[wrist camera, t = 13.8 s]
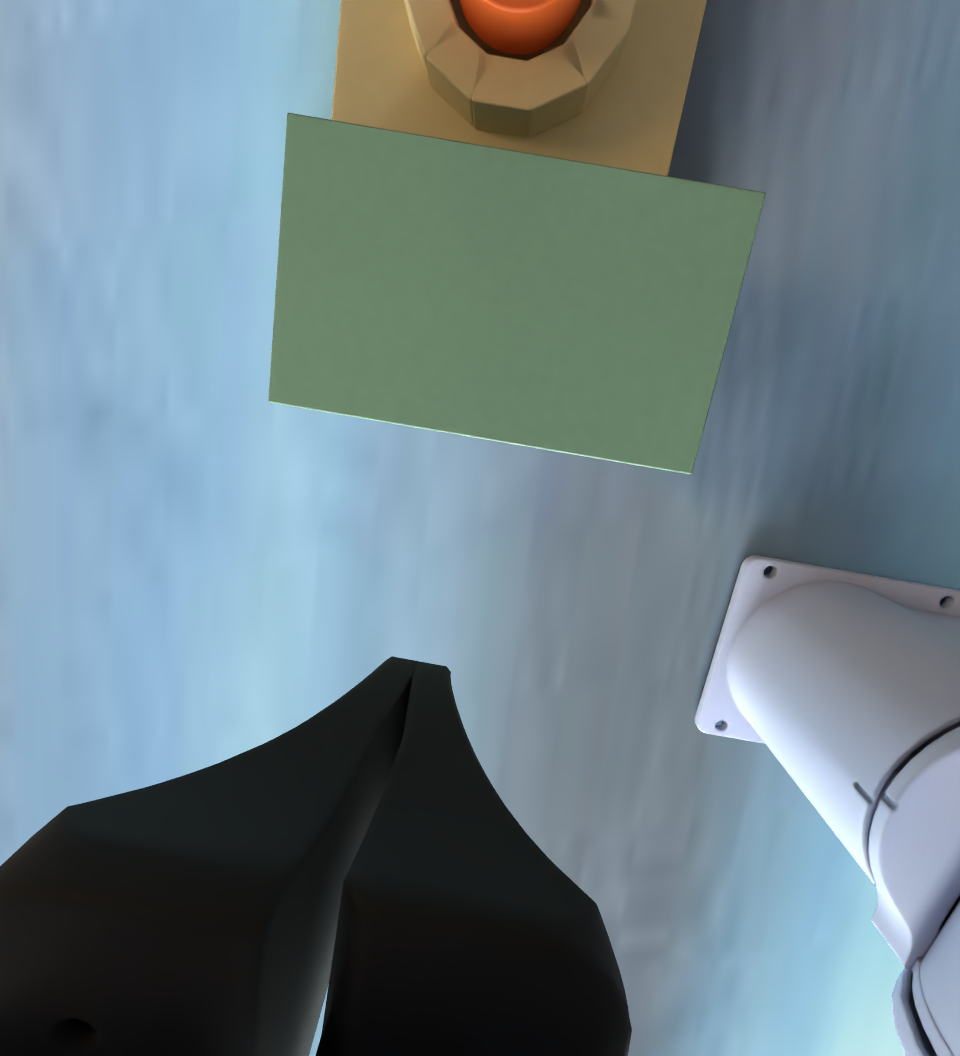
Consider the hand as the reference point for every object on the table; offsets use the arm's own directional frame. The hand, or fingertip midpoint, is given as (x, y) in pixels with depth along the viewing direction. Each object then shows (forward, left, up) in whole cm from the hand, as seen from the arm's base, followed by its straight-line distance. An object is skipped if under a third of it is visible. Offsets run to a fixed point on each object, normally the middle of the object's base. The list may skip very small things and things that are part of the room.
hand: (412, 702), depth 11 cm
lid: (0, -9, -6) cm, 11 cm away
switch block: (+1, -17, -10) cm, 20 cm away
